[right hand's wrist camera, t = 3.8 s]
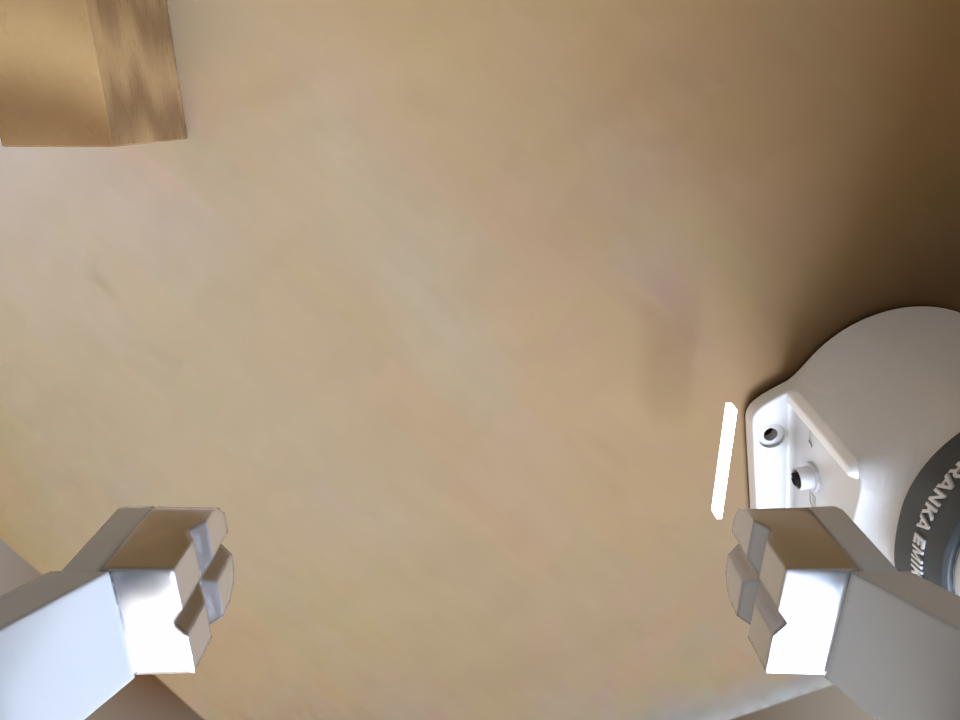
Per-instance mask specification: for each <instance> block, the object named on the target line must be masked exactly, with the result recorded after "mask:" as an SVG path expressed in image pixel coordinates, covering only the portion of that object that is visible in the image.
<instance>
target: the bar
mask: <svg viewBox="0 0 960 720" xmlns="http://www.w3.org/2000/svg"><path fill="white" fill-rule="evenodd" d="M0 137H1V141H2V145H3V146H4V147H117V146H126V145H135V144H144V143H153V142H162V141H171V140H181V139H187V134H186V128H185V121H184V114H183V108H182V101H181V94H180V88H179V81H178V75H177V68H176V61H175V55H174V48H173V42H172V35H171V28H170V22H169V15H168V9H167V2H166V0H0Z"/></svg>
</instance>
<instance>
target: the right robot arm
mask: <svg viewBox="0 0 960 720" xmlns="http://www.w3.org/2000/svg"><path fill="white" fill-rule="evenodd" d="M736 416H737V409H736V408H735V406H734V405H733V404H732V403H726V405H725V412H724V419H723V427H722V434H721V442H720V449H719V456H718V464H717V471H716V479H715V486H714V493H713V501H712V508H711V510H712V512H713V514H714V515H715V517H716V519H722V514H723V507H724V500H725V493H726V486H727V479H728V472H729V465H730V458H731V451H732V444H733V437H734V430H735V423H736ZM745 422H746V440H747V459H748V477H749V496H750V509H738V511H737V513H736V515H735V517H734V522H733V528H732V532H733V534H734V536H735V537H736V539H737V541H738V542H739V544H738V545H737V546H736V547H735V548H734V549H733V550H732V551H731V552H730V553H729V554H728V559H727V566H726V581H727V591H728V594H729V598H730V601H731V604H732V606H733V608H734V610H735V613H736V615H737V616H738V617H740V618H741V619H742V620H744V621H745V622H747V623H748V624H750V630H749V636H748V638H749V640H750V642H751V644H752V646H753V648H754V650H755V652H756V654H757V656H758V658H759V660H760V662H761V664H762V666H763V668H764V669H765V671H766V673H790V674H826V675H825V678H827V679H828V680H829V681H830V682H831V683H833V684H834V685H835V686H836V687H838V688H839V689H840V690H841V691H842V692H844V693H845V694H846V695H847V696H848V697H850V698H851V699H852V700H853V701H854V702H856V703H857V704H858V705H859V706H860V707H862V708H863V709H864V710H865V711H867V712H868V713H869V714H870V715H871V716H872V717H874V718H875V719H876V720H960V313H959V312H957V311H953V310H950V309H945V308H940V307H930V306H914V307H904V308H898V309H893V310H889V311H885V312H882V313H878V314H876V315H873V316H870V317H868V318H865V319H863V320H861V321H859V322H857V323H855V324H853V325H851V326H849V327H848V328H846V329H844V330H843V331H841V332H840V333H838V334H837V335H835V336H834V337H832V338H831V339H830V340H829V341H827V342H826V343H825V344H824V345H823V346H821V347H820V348H819V349H818V350H817V351H816V352H815V353H814V354H813V355H812V356H811V357H810V358H809V360H808V361H807V362H806V363H805V364H804V365H803V366H802V367H801V368H800V369H799V371H797V372H796V373H795V374H794V375H793V376H792V377H791V378H790V379H789V380H787V381H785V382H783V383H781V384H779V385H778V386H776V387H774V388H772V389H770V390H768V391H767V392H765V393H763V394H762V395H760V396H759V397H757V398H756V399H755V400H754V401H752V402H751V404H750V405H749V406H748V408H747V410H746V415H745ZM770 428H773V430H772V432H771V433H770V434H768V435H764V432H765V431H766V430H767V429H770ZM227 532H228V528H227V523H226V518H225V514H224V512H223V511H222V510H220V509H219V508H200V507H153V506H138V507H123V508H120V509H118V510H117V511H116V512H115V513H114V514H113V515H112V516H111V517H110V518H109V520H108V521H107V522H106V523H105V524H104V525H103V526H102V527H101V528H100V529H99V530H98V532H97V533H96V534H95V535H94V536H93V537H92V538H91V539H90V540H89V541H88V543H87V544H86V545H85V546H84V547H83V548H82V549H81V550H80V551H79V552H78V554H77V555H76V556H75V557H74V558H73V559H72V560H71V561H70V562H69V563H68V565H67V566H66V567H65V568H64V569H63V570H62V571H51V572H49V573H47V574H44V575H42V576H40V577H38V578H36V579H34V580H32V581H30V582H28V583H26V584H24V585H22V586H20V587H18V588H16V589H14V590H12V591H10V592H8V593H6V594H4V595H1V596H0V720H84V719H85V718H87V717H88V716H89V715H90V714H91V713H93V712H94V711H95V710H96V709H97V708H99V707H100V706H101V705H102V704H103V703H105V702H106V701H107V700H108V699H109V698H111V697H112V696H113V695H114V694H116V693H117V692H118V691H119V690H120V689H121V688H123V687H124V686H125V685H126V684H128V683H129V682H130V681H131V680H132V679H134V677H135V676H134V674H168V673H194V672H195V670H196V668H197V666H198V664H199V662H200V660H201V658H202V656H203V654H204V652H205V650H206V648H207V646H208V644H209V642H210V640H211V638H212V636H211V630H210V624H212V623H213V622H215V621H216V620H217V619H219V618H220V617H222V616H223V615H224V612H225V610H226V608H227V606H228V604H229V602H230V598H231V593H232V589H233V584H234V565H233V558H232V554H231V553H230V552H229V551H228V550H227V549H226V548H225V547H224V546H223V545H222V544H221V542H222V541H223V539H224V537H225V536H226V534H227Z"/></svg>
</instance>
